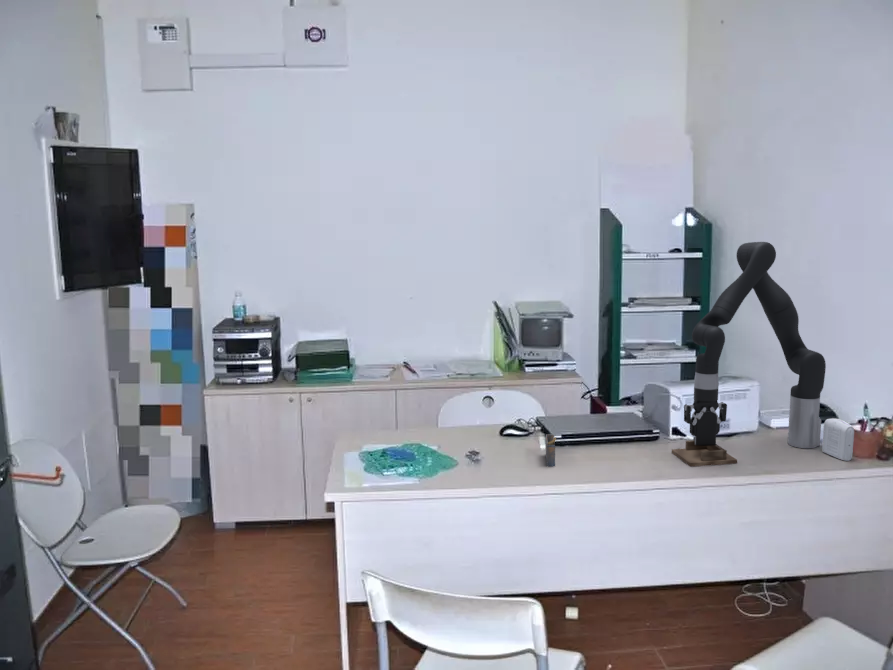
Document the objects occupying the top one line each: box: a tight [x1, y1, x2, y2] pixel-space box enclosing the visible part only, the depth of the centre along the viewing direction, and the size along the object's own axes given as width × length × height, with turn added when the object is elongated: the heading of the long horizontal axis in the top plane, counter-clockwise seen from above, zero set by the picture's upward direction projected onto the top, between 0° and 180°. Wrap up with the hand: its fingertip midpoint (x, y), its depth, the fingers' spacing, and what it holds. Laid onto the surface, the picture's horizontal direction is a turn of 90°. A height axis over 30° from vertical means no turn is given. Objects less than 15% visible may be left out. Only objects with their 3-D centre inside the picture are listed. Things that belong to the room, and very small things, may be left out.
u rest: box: [671, 439, 738, 468], centre depth 255 cm, size 16×14×4 cm
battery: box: [694, 412, 718, 446], centre depth 253 cm, size 7×4×11 cm, turn 88°
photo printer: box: [821, 417, 855, 462], centre depth 253 cm, size 10×4×12 cm, turn 17°
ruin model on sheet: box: [545, 434, 557, 468], centre depth 255 cm, size 11×3×10 cm, turn 174°
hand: (704, 434), depth 254 cm, fingers closed on battery, 7 cm apart
